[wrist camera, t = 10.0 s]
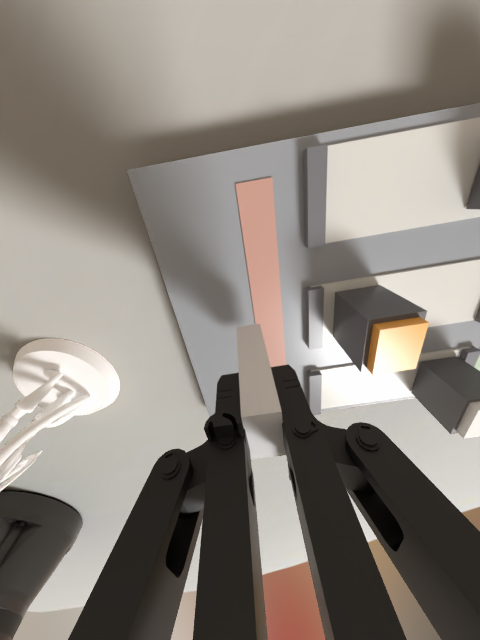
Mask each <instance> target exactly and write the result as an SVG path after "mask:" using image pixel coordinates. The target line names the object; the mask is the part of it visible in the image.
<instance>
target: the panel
mask: <svg viewBox="0 0 480 640" xmlns="http://www.w3.org/2000/svg"><path fill="white" fill-rule="evenodd" d="M479 164H480V103H475V104H470V105H465V106H459V107H454V108H449V109H444V110H438V111H433V112H428V113H423V114H417V115H412V116H407V117H402V118H396V119H391V120H386V121H381V122H375V123H370V124H365V125H360V126H354V127H349V128H344V129H339V130H333V131H328V132H323V133H317V134H312V135H307V136H302V137H296V138H291V139H286V140H281V141H275V142H270V143H265V144H260V145H254V146H249V147H244V148H239V149H233V150H228V151H223V152H218V153H212V154H207V155H202V156H197V157H191V158H186V159H181V160H176V161H170V162H165V163H160V164H155V165H149V166H144V167H139V168H134V169H128V170H126V171H127V174H128V176H129V179H130V182H131V185H132V188H133V191H134V194H135V197H136V200H137V203H138V206H139V209H140V212H141V215H142V218H143V221H144V224H145V227H146V230H147V233H148V236H149V239H150V242H151V244H152V247H153V250H154V253H155V256H156V259H157V262H158V265H159V268H160V271H161V274H162V277H163V280H164V283H165V286H166V289H167V292H168V295H169V298H170V301H171V304H172V307H173V310H174V313H175V315H176V318H177V321H178V324H179V327H180V330H181V333H182V336H183V339H184V342H185V345H186V348H187V351H188V354H189V357H190V360H191V363H192V366H193V369H194V372H195V375H196V378H197V381H198V384H199V386H200V389H201V392H202V395H203V398H204V401H205V404H206V407H207V410H208V413H209V416H212V415H213V414H214V413H215V407H216V393H217V382H218V381H219V379H220V377H221V375H226V374H233V373H239V369H238V350H237V331H236V327H241V326H248V325H254V324H260V326H261V330H262V334H263V338H264V342H265V346H266V350H267V354H268V358H269V362H270V366H271V367H275V366H282V365H288V364H289V365H290V366H291V367H292V368H293V369H294V370H295V371H296V374H297V376H298V380H299V382H300V384H301V387H302V389H303V392H304V394H305V397H306V400H307V402H308V405H309V407H310V410H311V412H312V414H313V415H318V414H321V411H328V410H335V409H342V408H349V407H356V406H363V405H370V404H377V403H384V402H391V401H398V400H405V399H412V398H416V397H415V396H414V395H413V394H412V393H411V392H412V388H413V385H414V382H415V378H416V375H417V372H418V368H419V365H420V362H422V361H429V360H436V359H442V358H449V357H456V356H458V357H460V358H461V359H462V360H464V361H465V362H467V363H468V364H470V365H471V366H473V367H474V368H476V369H477V370H479V371H480V209H466V208H467V204H468V201H469V198H470V194H471V191H472V188H473V184H474V181H475V177H476V174H477V171H478V167H479ZM376 285H381V286H383V287H385V288H386V289H388V290H390V291H392V292H394V293H396V294H397V295H399V296H401V297H403V298H405V299H407V300H408V301H410V302H412V303H414V304H416V305H418V306H419V307H421V308H423V309H425V310H427V314H426V317H425V320H426V321H428V322H429V325H428V329H427V332H426V336H425V339H424V342H423V346H422V349H421V353H420V356H419V360H418V363H417V366H416V369H411V370H404V371H398V372H391V373H384V374H377V375H372V374H371V373H370V372H362V373H361V372H360V371H359V370H358V368H357V367H356V366H355V365H354V363H353V362H352V361H351V359H350V358H349V357H348V355H347V354H346V353H345V352H344V350H343V349H342V348H341V346H340V345H339V344H338V342H337V341H336V340H335V339H334V337H333V324H334V304H335V292H339V291H346V290H352V289H358V288H364V287H370V286H376Z"/></svg>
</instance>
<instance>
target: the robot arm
mask: <svg viewBox="0 0 480 640" xmlns="http://www.w3.org/2000/svg"><path fill="white" fill-rule="evenodd" d="M236 331H237V350H238V369H239V373H233V374H226V375H221V377H220V379H219V381H218V382H217V393H216V407H215V413H214V414H213V415H212V416H210V417H209V419H208V420H207V421H206V424H205V427H204V430H205V433H206V435H207V438H208V440H207V441H206V442H205V443H204V444H202V445H201V446H199V447H197V448H195V449H193V450H191V451H189V452H187V453H186V452H185V451H184V450H181V449H172V450H170V451H168V452H166V453H164V454H163V455H162V456H161V457H160V458H159V459H158V460H157V462H156V463H155V465H154V467H153V469H152V471H151V473H150V475H149V477H148V479H147V481H146V483H145V485H144V487H143V489H142V491H141V493H140V495H139V497H138V499H137V501H136V503H135V505H134V507H133V509H132V511H131V513H130V515H129V517H128V519H127V521H126V523H125V525H124V527H123V530H122V532H121V534H120V536H119V538H118V540H117V542H116V544H115V546H114V548H113V550H112V552H111V554H110V556H109V558H108V560H107V562H106V564H105V566H104V568H103V570H102V572H101V574H100V576H99V578H98V580H97V582H96V584H95V586H94V588H93V590H92V592H91V594H90V596H89V598H88V600H87V602H86V604H85V606H84V609H83V611H82V613H81V615H80V617H79V619H78V621H77V623H76V625H75V627H74V629H73V631H72V633H71V635H70V637H69V639H68V640H170V639H171V635H172V632H173V628H174V624H175V620H176V616H177V613H178V609H179V605H180V601H181V598H182V594H183V590H184V587H185V583H186V579H187V575H188V571H189V568H190V564H191V560H192V556H193V553H194V549H195V545H196V541H197V538H198V534H199V530H200V526H201V523H202V519H203V523H202V535H201V547H200V559H199V572H198V584H197V596H196V608H195V620H194V632H193V640H268V637H267V626H266V614H265V603H264V593H263V582H262V569H261V558H260V547H259V535H258V524H257V513H256V502H255V490H254V479H253V472H252V468H251V460H252V459H259V458H266V457H274V456H281V455H286V456H287V461H288V468H289V478H290V480H291V483H292V488H293V492H294V497H295V501H296V506H297V511H298V515H299V520H300V524H301V529H302V533H303V538H304V543H305V547H306V552H307V556H308V561H309V565H310V570H311V575H312V578H313V584H314V589H315V593H316V598H317V602H318V607H319V611H320V616H321V621H322V625H323V629H324V634H325V639H326V640H407V639H406V637H405V635H404V632H403V630H402V627H401V625H400V622H399V620H398V617H397V615H396V612H395V610H394V607H393V605H392V602H391V600H390V597H389V595H388V593H387V590H386V587H385V585H384V583H383V580H382V577H381V575H380V572H379V570H378V568H377V565H376V563H375V560H374V558H373V555H372V553H371V550H370V548H369V545H368V543H367V540H366V538H365V535H364V533H363V530H362V528H361V525H360V523H359V520H358V518H357V515H356V513H355V510H354V508H353V505H352V503H351V500H350V498H349V495H348V493H349V494H350V496H351V498H352V499H353V501H354V502H355V504H356V505H357V507H358V509H359V510H360V512H361V513H362V515H363V516H364V518H365V520H366V521H367V523H368V524H369V526H370V528H371V529H372V531H373V532H374V534H375V535H376V537H377V539H378V540H379V542H380V543H381V545H382V546H383V548H384V550H385V551H386V553H387V554H388V556H389V557H390V559H391V561H392V562H393V564H394V565H395V567H396V568H397V570H398V571H399V573H400V575H401V576H402V578H403V580H404V581H405V583H406V584H407V586H408V587H409V589H410V591H411V592H412V594H413V595H414V597H415V598H416V600H417V601H418V603H419V605H420V606H421V608H422V609H423V611H424V613H425V614H426V616H427V617H428V619H429V620H430V622H431V624H432V625H433V627H434V628H435V630H436V632H437V633H438V635H439V636H440V638H441V639H442V640H480V532H479V531H478V530H477V529H476V528H475V526H474V525H473V524H472V523H471V522H469V520H468V519H467V518H466V517H465V516H464V515H463V514H462V513H461V512H460V511H459V510H458V509H457V508H456V507H455V506H454V505H453V504H452V503H451V502H450V501H449V500H448V499H447V498H446V496H445V495H444V494H443V493H442V492H441V491H440V490H439V489H438V488H437V487H436V486H435V485H434V484H433V483H432V482H431V481H430V480H429V479H428V478H427V477H426V476H425V475H424V474H423V473H422V472H421V471H420V470H419V469H418V468H417V467H416V466H415V464H414V463H413V462H412V461H411V460H410V459H409V458H408V457H407V456H406V455H405V454H404V453H403V452H402V451H401V450H400V449H399V448H398V447H397V446H396V445H395V444H394V443H393V442H392V441H391V440H390V439H389V438H388V437H387V436H386V435H385V433H383V432H382V431H381V430H380V429H378V428H377V427H375V426H373V425H371V424H368V423H361V422H360V423H354V424H352V425H351V426H349V427H348V429H347V430H346V429H340V428H334V427H330V426H327V425H324V424H322V423H321V422H319V421H318V420H317V419H316V418H315V417H314V416H313V414H312V412H311V410H310V407H309V405H308V402H307V400H306V397H305V394H304V392H303V389H302V387H301V384H300V382H299V380H298V376H297V374H296V371H295V370H294V369H293V368H292V367H291V366H290V365H289V364H288V365H282V366H275V367H271V366H270V362H269V358H268V354H267V350H266V346H265V342H264V338H263V334H262V330H261V326H260V324H254V325H248V326H241V327H236ZM346 490H347V491H348V493H347V491H346ZM82 524H83V522H82V518H81V517H80V515H79V514H78V513H77V512H76V511H75V510H74V509H72V508H71V507H69V506H67V505H65V504H63V503H61V502H59V501H56V500H54V499H51V498H48V497H44V496H40V495H36V494H31V493H24V492H14V491H0V640H12V639H13V637H14V635H15V633H16V631H17V629H18V627H19V625H20V623H21V621H22V619H23V617H24V615H25V613H26V611H27V609H28V608H29V606H30V604H31V603H32V601H33V600H34V599H35V597H36V596H37V594H38V593H39V592H40V590H41V589H42V587H43V586H44V585H45V583H46V582H47V580H48V579H49V577H50V576H51V575H52V573H53V572H54V570H55V569H56V567H57V566H58V564H59V563H60V561H61V560H62V558H63V557H64V555H65V554H67V552H68V551H69V550H70V549H71V548H72V546H73V544H74V542H75V540H76V538H77V536H78V534H79V532H80V529H81V527H82Z"/></svg>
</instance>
